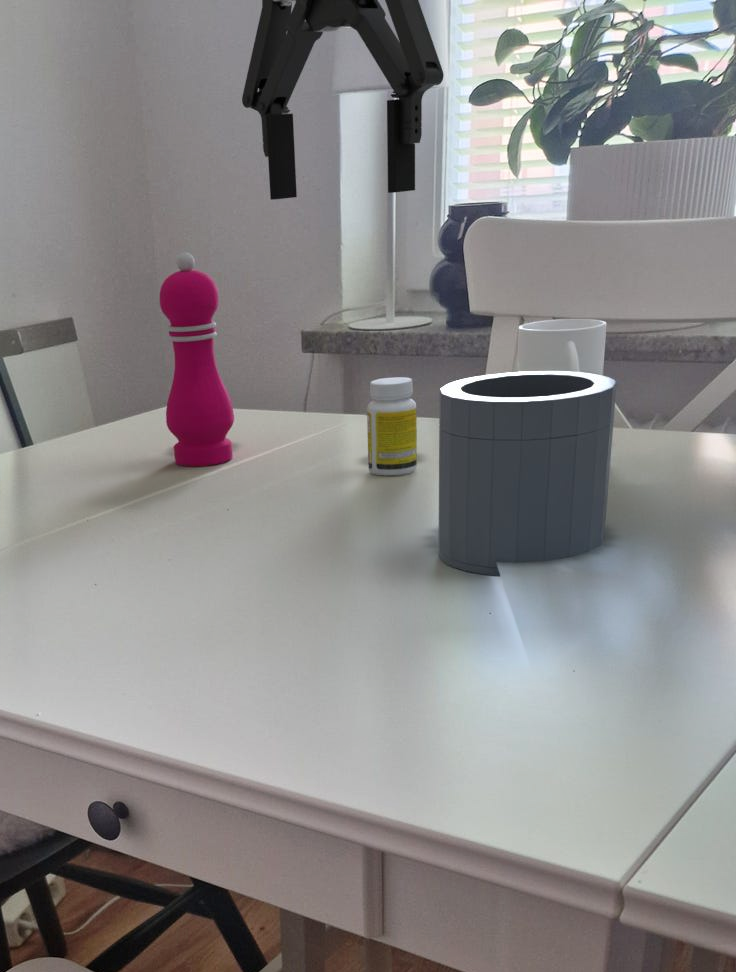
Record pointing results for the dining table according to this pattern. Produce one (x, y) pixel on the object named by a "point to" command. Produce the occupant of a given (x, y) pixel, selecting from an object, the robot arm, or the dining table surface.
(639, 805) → the dining table surface
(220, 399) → the pepper mill
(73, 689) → the dining table surface
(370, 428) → the supplement bottle
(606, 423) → the open container
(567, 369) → the mug
